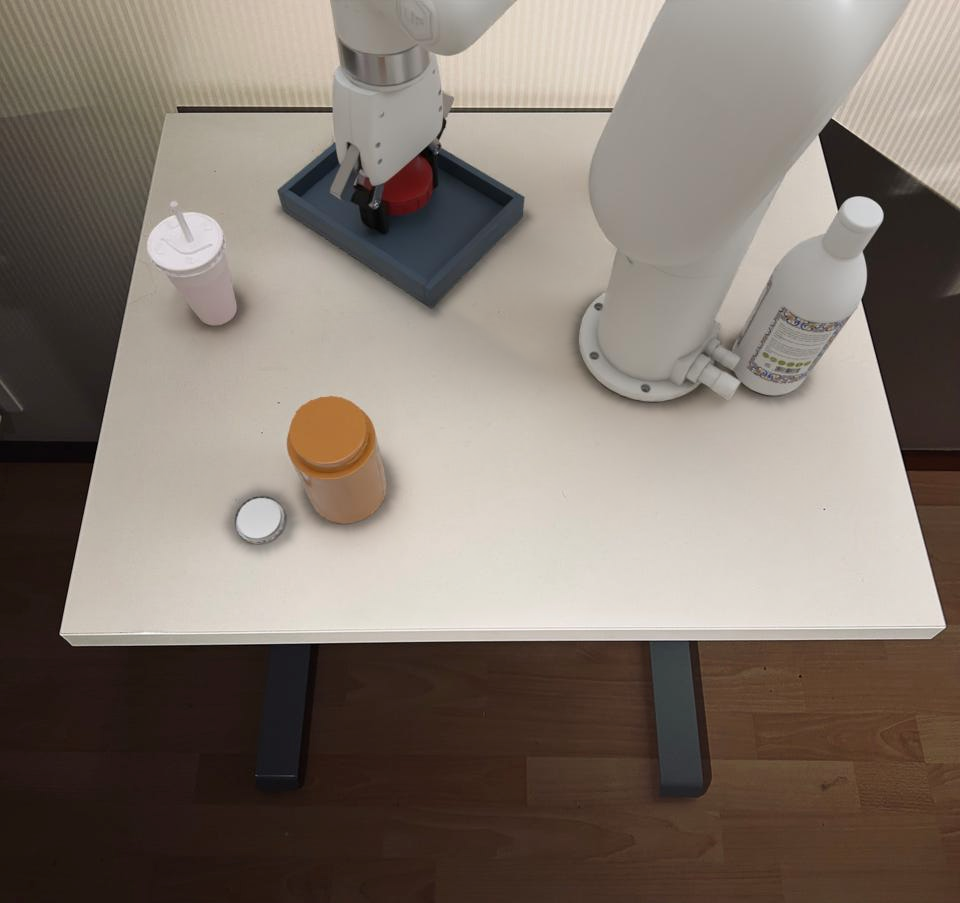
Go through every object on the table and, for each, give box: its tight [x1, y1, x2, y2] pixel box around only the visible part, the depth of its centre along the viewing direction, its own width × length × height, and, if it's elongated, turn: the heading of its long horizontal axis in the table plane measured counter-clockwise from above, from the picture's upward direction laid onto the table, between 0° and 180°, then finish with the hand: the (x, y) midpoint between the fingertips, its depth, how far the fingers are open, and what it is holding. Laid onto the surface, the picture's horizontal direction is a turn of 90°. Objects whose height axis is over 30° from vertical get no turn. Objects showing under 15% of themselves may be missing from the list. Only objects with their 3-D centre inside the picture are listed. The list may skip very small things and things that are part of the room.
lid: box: [364, 154, 434, 215], centre depth 77 cm, size 7×7×2 cm
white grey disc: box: [233, 495, 286, 545], centre depth 66 cm, size 4×4×1 cm
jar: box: [286, 395, 388, 525], centre depth 63 cm, size 7×7×11 cm
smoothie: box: [146, 200, 238, 327], centre depth 69 cm, size 6×6×14 cm
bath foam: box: [731, 196, 884, 396], centre depth 64 cm, size 7×7×20 cm
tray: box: [277, 141, 525, 309], centre depth 80 cm, size 20×15×3 cm
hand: (400, 202), depth 80 cm, fingers closed on lid, 6 cm apart
